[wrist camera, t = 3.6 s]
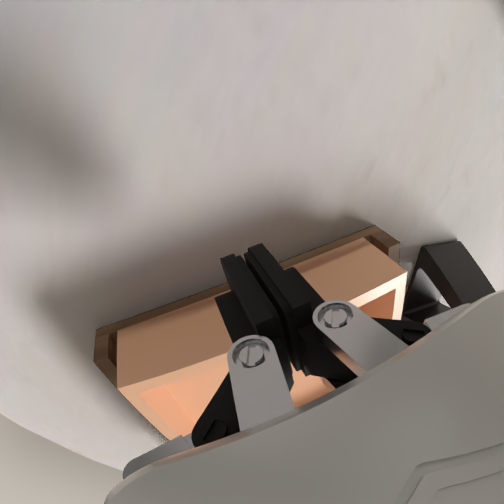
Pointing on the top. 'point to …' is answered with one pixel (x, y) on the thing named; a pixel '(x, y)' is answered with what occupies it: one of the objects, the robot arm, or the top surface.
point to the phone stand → (443, 281)
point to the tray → (108, 335)
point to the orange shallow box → (218, 343)
